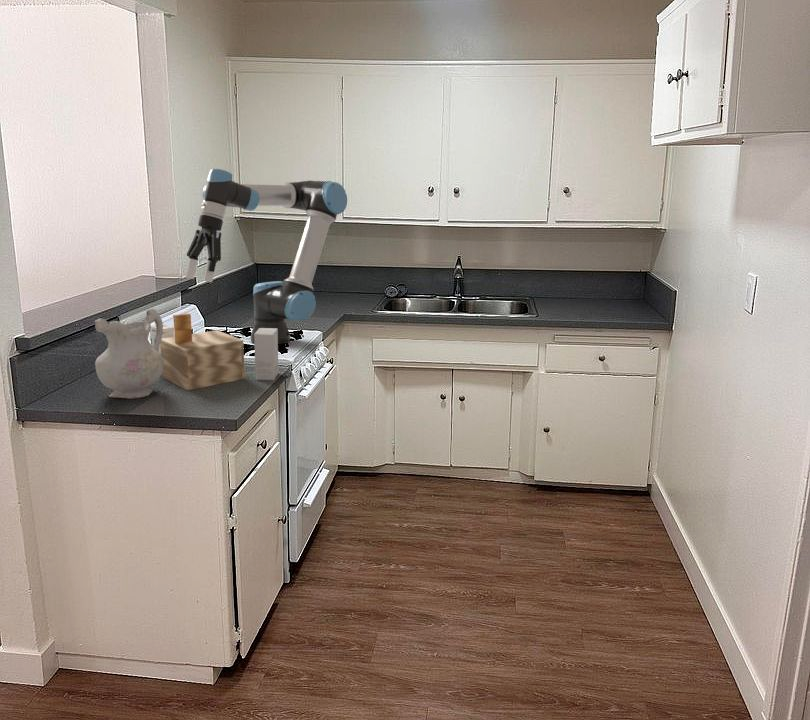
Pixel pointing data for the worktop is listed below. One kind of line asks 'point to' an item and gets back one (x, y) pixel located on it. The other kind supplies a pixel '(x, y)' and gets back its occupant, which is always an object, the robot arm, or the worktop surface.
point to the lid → (196, 336)
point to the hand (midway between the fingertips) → (198, 280)
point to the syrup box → (167, 332)
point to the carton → (203, 365)
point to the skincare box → (266, 353)
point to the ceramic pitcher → (130, 356)
